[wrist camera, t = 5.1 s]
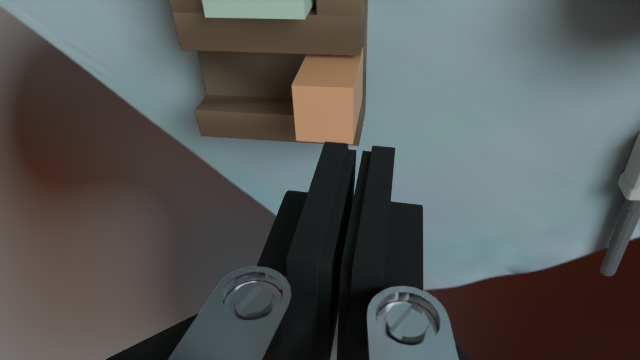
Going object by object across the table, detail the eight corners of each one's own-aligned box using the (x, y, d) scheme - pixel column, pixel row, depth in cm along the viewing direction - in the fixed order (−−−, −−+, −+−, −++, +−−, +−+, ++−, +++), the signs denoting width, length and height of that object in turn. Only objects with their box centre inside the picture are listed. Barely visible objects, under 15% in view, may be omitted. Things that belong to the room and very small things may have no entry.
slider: (310, 45, 26) (291, 85, 22) (363, 47, 26) (353, 87, 22) (313, 96, 28) (296, 140, 24) (362, 98, 28) (352, 144, 24)
